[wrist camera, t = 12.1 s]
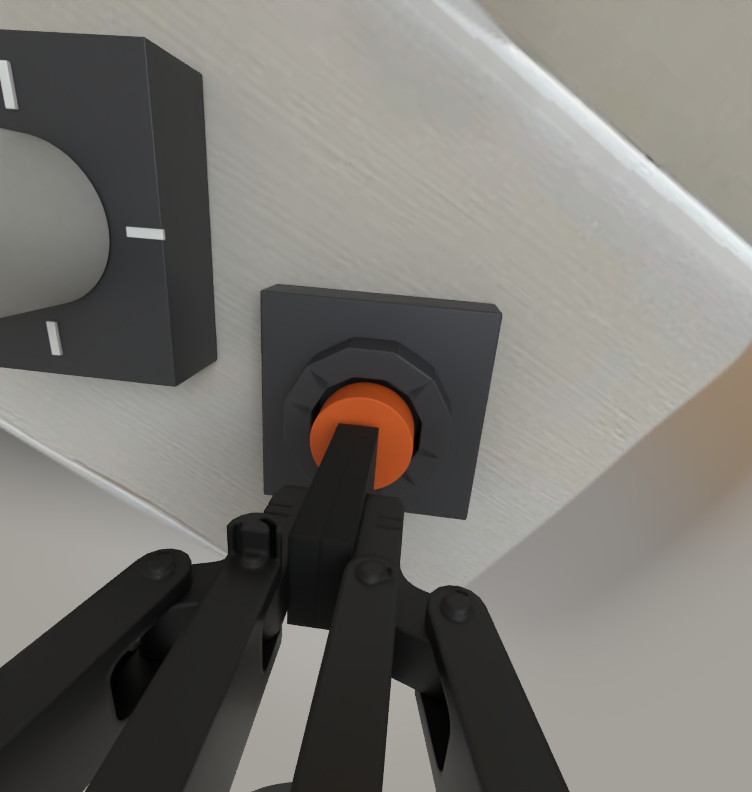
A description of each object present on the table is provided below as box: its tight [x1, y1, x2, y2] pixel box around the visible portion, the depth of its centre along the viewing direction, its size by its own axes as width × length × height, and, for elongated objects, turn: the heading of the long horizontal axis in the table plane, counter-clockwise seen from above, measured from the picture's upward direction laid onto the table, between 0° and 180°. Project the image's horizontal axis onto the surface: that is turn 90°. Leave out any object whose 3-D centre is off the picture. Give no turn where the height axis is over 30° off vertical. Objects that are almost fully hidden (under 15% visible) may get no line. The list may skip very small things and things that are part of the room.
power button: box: [310, 382, 414, 490], centre depth 18 cm, size 4×4×2 cm
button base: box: [260, 284, 502, 520], centre depth 21 cm, size 10×10×4 cm
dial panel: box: [0, 29, 217, 387], centre depth 19 cm, size 12×10×4 cm
